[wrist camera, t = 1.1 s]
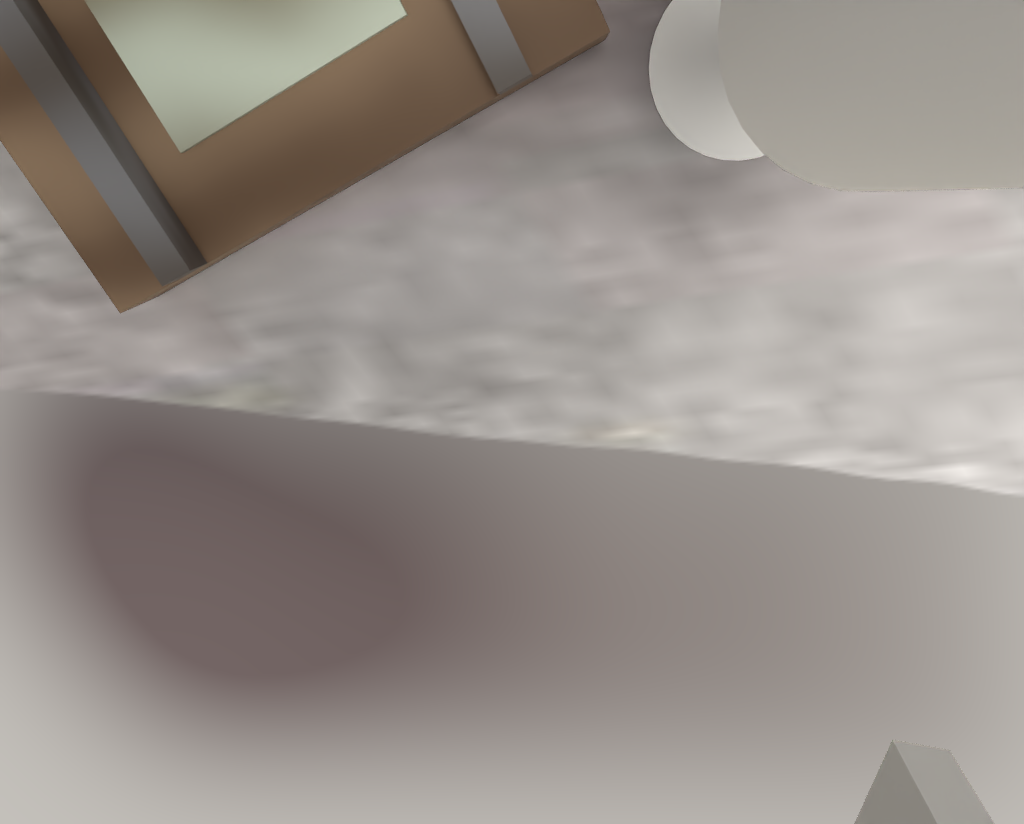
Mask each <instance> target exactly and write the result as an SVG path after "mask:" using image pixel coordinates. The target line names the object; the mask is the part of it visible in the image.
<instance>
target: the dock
mask: <svg viewBox="0 0 1024 824" xmlns="http://www.w3.org/2000/svg"><path fill="white" fill-rule="evenodd" d="M609 33H610V30H609V28H608V26H607V23H606V21H605V19H604V17H603V14H602V12H601V10H600V8H599V6H598V3H597V1H596V0H0V141H1V142H2V144H3V145H4V147H5V148H6V149H7V151H8V152H9V154H10V155H11V157H12V158H13V159H14V161H15V162H16V164H17V165H18V167H19V168H20V170H21V171H22V172H23V174H24V175H25V177H26V178H27V180H28V181H29V183H30V184H31V185H32V187H33V188H34V190H35V191H36V193H37V194H38V195H39V197H40V198H41V200H42V201H43V203H44V204H45V206H46V207H47V208H48V210H49V211H50V213H51V214H52V216H53V217H54V219H55V220H56V221H57V223H58V224H59V226H60V227H61V229H62V230H63V232H64V233H65V234H66V236H67V237H68V239H69V240H70V242H71V243H72V244H73V246H74V247H75V249H76V250H77V252H78V253H79V255H80V256H81V257H82V259H83V260H84V262H85V263H86V265H87V266H88V268H89V269H90V270H91V272H92V273H93V275H94V276H95V278H96V279H97V280H98V282H99V283H100V285H101V286H102V288H103V289H104V291H105V292H106V293H107V295H108V296H109V298H110V299H111V301H112V302H113V304H114V305H115V306H116V308H117V309H118V311H119V312H120V313H122V312H125V311H127V310H129V309H131V308H133V307H136V306H138V305H140V304H142V303H145V302H147V301H149V300H151V299H153V298H156V297H158V296H159V295H161V294H163V293H165V292H166V291H168V290H170V289H172V288H173V287H175V286H177V285H179V284H180V283H182V282H184V281H186V280H187V279H189V278H191V277H193V276H194V275H196V274H198V273H200V272H201V271H203V270H205V269H206V268H208V267H210V266H212V265H213V264H215V263H217V262H219V261H220V260H222V259H224V258H226V257H227V256H229V255H231V254H233V253H234V252H236V251H238V250H240V249H241V248H243V247H245V246H247V245H248V244H250V243H252V242H254V241H255V240H257V239H259V238H260V237H262V236H264V235H266V234H267V233H269V232H271V231H273V230H274V229H276V228H278V227H280V226H281V225H283V224H285V223H287V222H288V221H290V220H292V219H294V218H295V217H297V216H299V215H301V214H302V213H304V212H306V211H308V210H309V209H311V208H313V207H314V206H316V205H318V204H320V203H321V202H323V201H325V200H327V199H328V198H330V197H332V196H334V195H335V194H337V193H339V192H341V191H342V190H344V189H346V188H348V187H349V186H351V185H353V184H355V183H356V182H358V181H360V180H361V179H363V178H365V177H367V176H368V175H370V174H372V173H374V172H375V171H377V170H379V169H381V168H382V167H384V166H386V165H388V164H389V163H391V162H393V161H395V160H396V159H398V158H400V157H402V156H403V155H405V154H407V153H409V152H410V151H412V150H414V149H415V148H417V147H419V146H421V145H422V144H424V143H426V142H428V141H429V140H431V139H433V138H435V137H436V136H438V135H440V134H442V133H443V132H445V131H447V130H449V129H450V128H452V127H454V126H456V125H457V124H459V123H461V122H463V121H464V120H466V119H468V118H469V117H471V116H473V115H475V114H476V113H478V112H480V111H482V110H483V109H485V108H487V107H489V106H490V105H492V104H494V103H496V102H497V101H499V100H501V99H503V98H504V97H506V96H508V95H510V94H511V93H513V92H515V91H517V90H518V89H520V88H522V87H523V86H525V85H527V84H529V83H530V82H532V81H534V80H536V79H537V78H539V77H541V76H543V75H544V74H546V73H548V72H550V71H551V70H553V69H555V68H557V67H558V66H560V65H562V64H564V63H565V62H567V61H569V60H571V59H572V58H574V57H576V56H577V55H579V54H581V53H583V52H584V51H586V50H588V49H590V48H591V47H593V46H595V45H597V44H598V43H600V42H602V41H604V40H605V39H606V37H607V36H608V34H609Z"/></svg>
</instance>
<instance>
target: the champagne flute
mask: <svg viewBox="0 0 1024 824" xmlns="http://www.w3.org/2000/svg"><path fill="white" fill-rule="evenodd" d="M649 78H650V88H651V92H652V96H653V99H654V102H655V106H656V108H657V110H658V112H659V114H660V116H661V118H662V120H663V121H664V123H665V125H666V126H667V127H668V128H669V129H670V131H671V132H672V133H673V134H674V135H675V137H676V138H678V139H679V140H680V141H681V142H683V143H684V144H685V145H686V146H688V147H689V148H690V149H693V150H695V151H697V152H699V153H701V154H703V155H705V156H708V157H712V158H716V159H720V160H734V161H742V160H748V159H754V158H759V157H762V156H764V155H766V156H767V157H768V158H769V159H771V160H772V161H773V162H774V163H776V164H777V165H778V166H779V167H781V168H782V169H783V170H784V171H786V172H788V173H790V174H792V175H794V176H796V177H798V178H801V179H803V180H805V181H807V182H809V183H811V184H815V185H819V186H823V187H827V188H831V189H835V190H839V191H861V192H884V191H928V190H971V189H1014V188H1024V0H672V2H671V3H670V4H669V6H668V7H667V9H666V10H665V11H664V13H663V16H662V18H661V20H660V22H659V24H658V26H657V28H656V31H655V34H654V38H653V42H652V46H651V49H650V60H649Z"/></svg>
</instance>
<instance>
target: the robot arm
mask: <svg viewBox="0 0 1024 824" xmlns="http://www.w3.org/2000/svg"><path fill="white" fill-rule="evenodd" d="M855 824H994V822H993V821H992V819H991V817H990V816H989V814H988V812H987V811H986V809H985V807H984V806H983V804H982V802H981V801H980V799H979V797H978V796H977V794H976V793H975V791H974V789H973V788H972V786H971V784H970V783H969V781H968V780H967V778H966V776H965V775H964V773H963V771H962V770H961V768H960V766H959V765H958V763H957V762H956V760H955V758H954V757H953V755H952V753H951V752H950V750H946V749H940V748H935V747H929V746H924V745H918V744H913V743H907V742H902V741H896V740H892V742H891V745H890V747H889V749H888V751H887V754H886V755H885V758H884V760H883V762H882V764H881V766H880V769H879V771H878V773H877V775H876V777H875V780H874V782H873V784H872V786H871V788H870V791H869V793H868V795H867V797H866V799H865V802H864V804H863V806H862V808H861V811H860V813H859V815H858V817H857V819H856V821H855Z"/></svg>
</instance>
